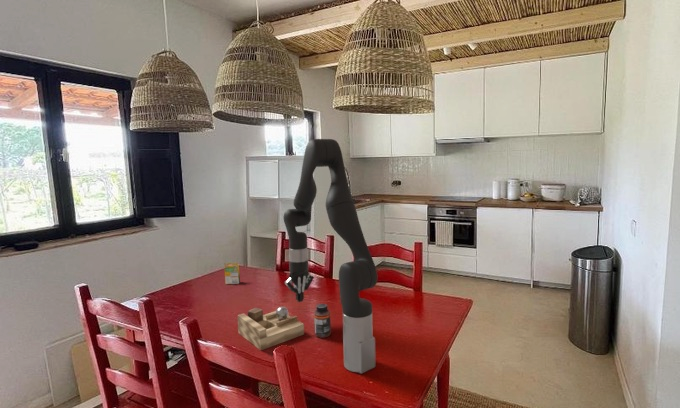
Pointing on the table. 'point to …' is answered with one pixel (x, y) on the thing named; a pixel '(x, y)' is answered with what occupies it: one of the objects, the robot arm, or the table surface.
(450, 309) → the table surface
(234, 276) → the crayon box
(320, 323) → the supplement bottle
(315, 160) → the robot arm
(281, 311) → the ball
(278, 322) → the wooden stepped tray
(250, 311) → the walnut cube
